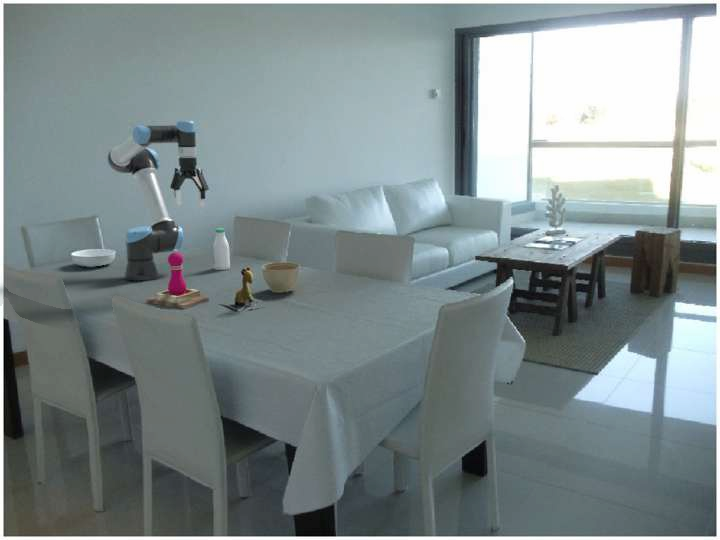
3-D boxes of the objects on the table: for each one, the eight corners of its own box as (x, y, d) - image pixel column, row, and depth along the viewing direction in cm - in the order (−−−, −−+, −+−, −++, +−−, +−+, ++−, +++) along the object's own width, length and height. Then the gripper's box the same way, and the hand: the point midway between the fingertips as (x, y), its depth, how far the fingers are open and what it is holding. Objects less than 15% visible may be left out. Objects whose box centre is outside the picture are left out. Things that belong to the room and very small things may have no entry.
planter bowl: (255, 291, 291) (254, 266, 288) (283, 284, 302) (283, 260, 300) (279, 297, 280) (278, 271, 278) (308, 290, 291) (307, 265, 289)
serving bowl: (107, 270, 333) (106, 256, 331) (65, 270, 333) (63, 256, 332) (122, 261, 353) (121, 248, 352) (82, 261, 353) (81, 248, 352)
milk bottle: (233, 268, 336) (231, 228, 332) (222, 271, 329) (220, 230, 325) (221, 266, 340) (219, 227, 336) (210, 269, 333) (208, 229, 329)
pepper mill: (182, 300, 269) (179, 251, 265) (165, 299, 271) (162, 250, 266) (190, 296, 276) (187, 247, 272) (173, 295, 278) (170, 247, 273)
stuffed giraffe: (238, 312, 258) (237, 271, 255) (217, 304, 272) (215, 265, 269) (275, 307, 268) (274, 267, 265) (252, 299, 282) (251, 261, 279)
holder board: (147, 302, 273) (146, 292, 272) (172, 294, 284) (171, 285, 284) (184, 308, 263) (183, 298, 262) (208, 300, 275) (208, 291, 274)
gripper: (160, 156, 298) (163, 204, 302) (203, 158, 286) (206, 208, 290) (172, 156, 304) (175, 203, 309) (215, 157, 292) (217, 206, 297)
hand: (190, 205), depth 300 cm, fingers open, 13 cm apart
